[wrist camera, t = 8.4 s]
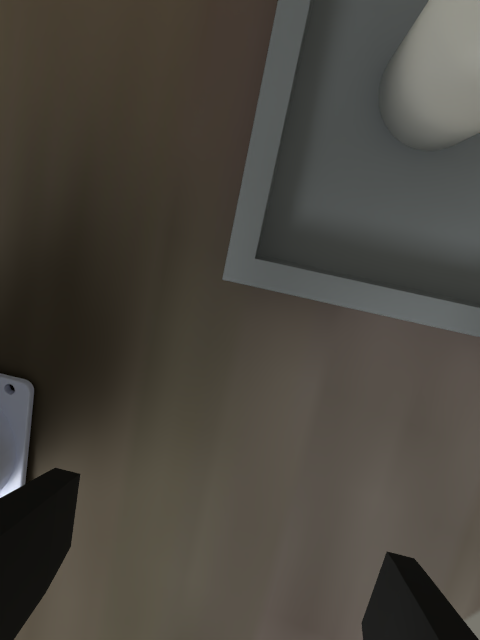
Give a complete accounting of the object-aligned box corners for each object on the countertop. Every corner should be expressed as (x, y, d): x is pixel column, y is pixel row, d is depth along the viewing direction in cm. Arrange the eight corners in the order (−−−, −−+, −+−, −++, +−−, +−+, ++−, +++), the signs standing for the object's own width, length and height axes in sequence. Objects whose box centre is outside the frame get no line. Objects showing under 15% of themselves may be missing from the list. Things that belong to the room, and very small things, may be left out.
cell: (365, 139, 15) (428, 73, 9) (397, 19, 14) (492, -153, 8) (472, 160, 15) (615, 108, 9) (511, 40, 14) (704, -118, 8)
